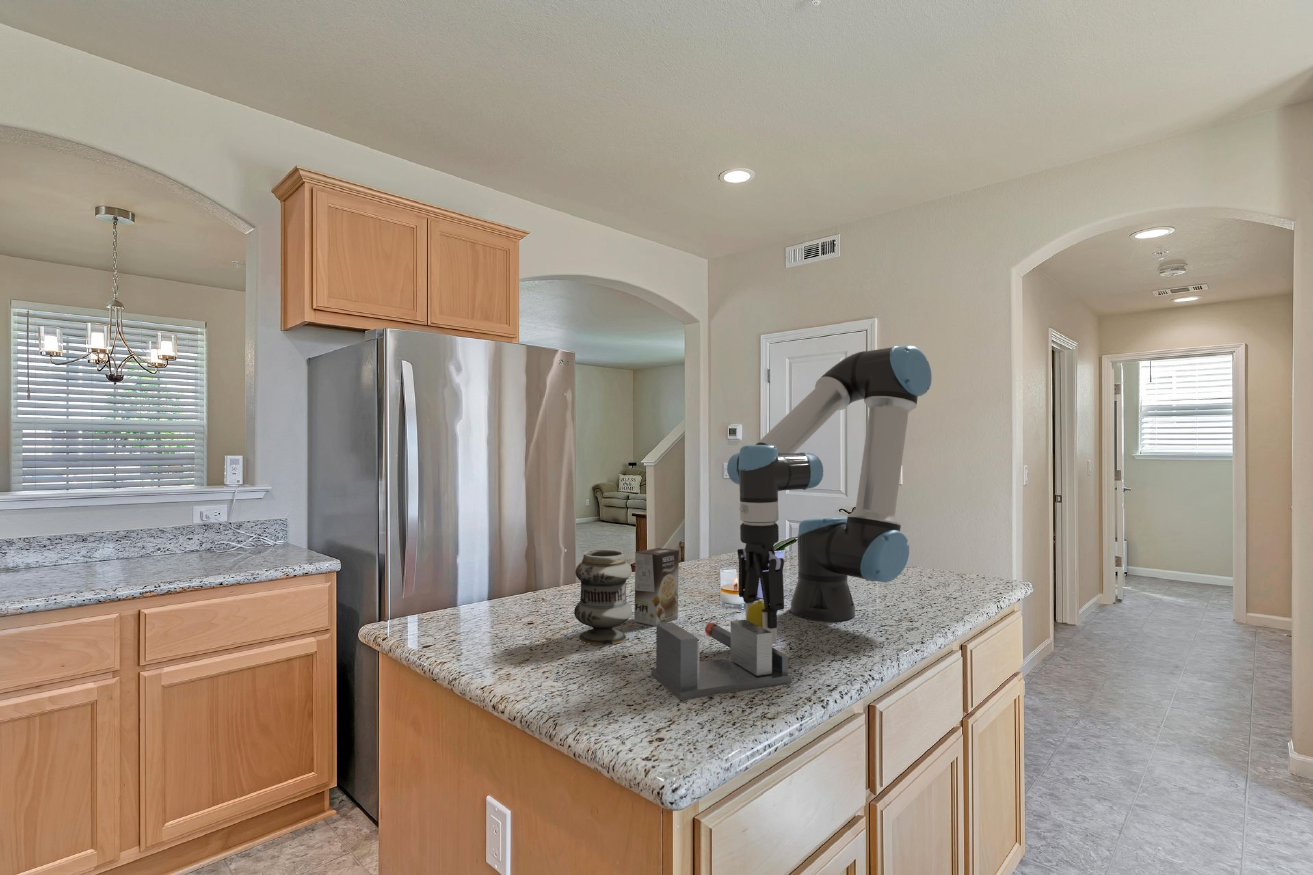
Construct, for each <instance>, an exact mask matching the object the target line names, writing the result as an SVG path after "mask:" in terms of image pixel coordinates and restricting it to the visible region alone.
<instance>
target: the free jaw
mask: <svg viewBox="0 0 1313 875" xmlns="http://www.w3.org/2000/svg"><path fill="white" fill-rule="evenodd" d="M704 632H705V634H706V636H707V637H709V638H712V639H714V640H715V641H717V642H719V643H720V644H722V645H724V646H725V647H727V648H729V649H730V658H731V660H732V661H734V662H735V663H737V664H738V665H740V666H742V667H743V668H745V669H746V670H748V671H750V672H751V673H753V674H755V675H756V676H759V675H766V674H772V648H773V644H772V632H770V631H768V630H766V629H764V628H761V627H759V626H757V625H755V624H753V623H751V622H749V621H747V620H746V619H740V620H739V619H737V620H736V619H735V620H731V621H730V631H729V630H727V629H725V628H723V627H721V626H719V625H718V624H717V623H715V622H709V623H707V624H706V626H705V628H704Z"/></svg>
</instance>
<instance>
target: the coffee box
mask: <svg viewBox="0 0 1313 875" xmlns="http://www.w3.org/2000/svg"><path fill="white" fill-rule="evenodd" d="M634 559H635V564H634V565H635V566H634V567H635V569H634V618H633V620H634V623H640V624H643V625H648V626H653V627H655V626H657V624H661V623H669V622H671V621H674V620H676V619H678V618H679V577H680V576H679V572H680V571H679V570H680V569H679V568H680V567H679V566H680V564H679V563H680V560H679V559H680V550H679V549H671V548H661V547H656V548H651V549H645V550H639V551H638V550H637V551H635V558H634Z"/></svg>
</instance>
